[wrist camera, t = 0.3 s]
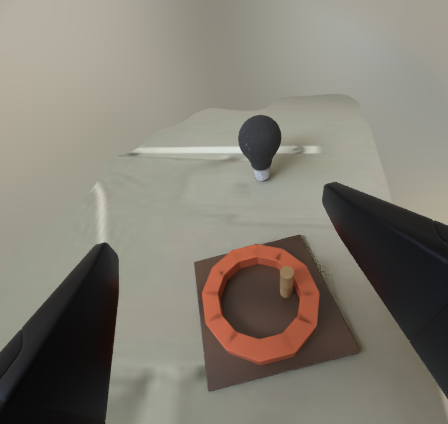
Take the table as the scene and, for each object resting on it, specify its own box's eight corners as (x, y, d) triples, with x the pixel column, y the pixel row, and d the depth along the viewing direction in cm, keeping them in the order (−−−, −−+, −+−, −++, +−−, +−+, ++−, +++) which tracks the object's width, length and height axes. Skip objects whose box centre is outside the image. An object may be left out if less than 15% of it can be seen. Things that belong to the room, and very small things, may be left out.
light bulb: (247, 167, 38) (239, 108, 31) (282, 167, 37) (282, 105, 29) (241, 191, 35) (231, 130, 27) (279, 192, 33) (279, 128, 26)
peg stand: (359, 353, 19) (377, 338, 16) (209, 391, 19) (192, 386, 16) (299, 237, 28) (302, 209, 24) (195, 264, 28) (182, 241, 24)
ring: (339, 345, 19) (343, 340, 18) (215, 377, 19) (211, 374, 18) (290, 242, 27) (291, 234, 26) (201, 266, 27) (197, 259, 26)
